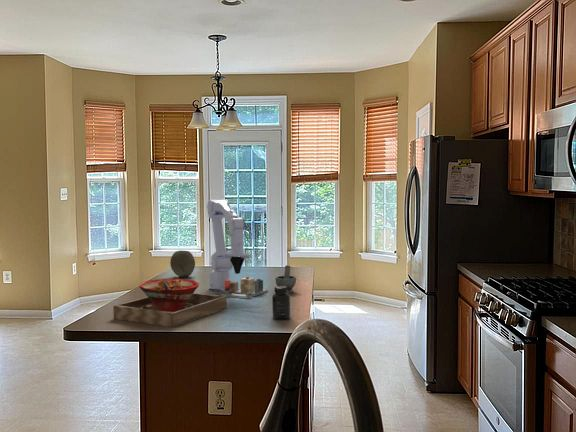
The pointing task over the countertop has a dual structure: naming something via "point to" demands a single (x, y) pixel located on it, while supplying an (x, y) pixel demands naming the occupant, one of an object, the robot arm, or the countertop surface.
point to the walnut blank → (234, 286)
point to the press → (257, 290)
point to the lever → (227, 287)
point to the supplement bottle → (281, 303)
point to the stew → (168, 294)
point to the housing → (247, 284)
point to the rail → (237, 295)
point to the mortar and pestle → (286, 279)
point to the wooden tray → (202, 307)
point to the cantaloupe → (182, 263)
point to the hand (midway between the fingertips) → (237, 273)
